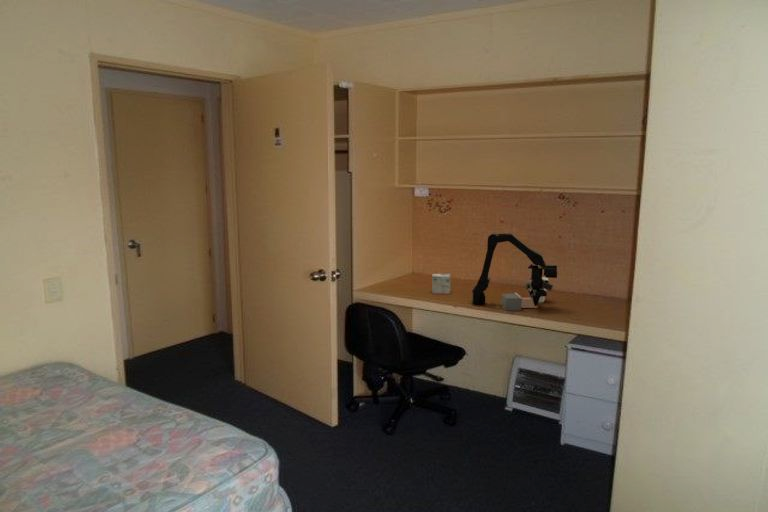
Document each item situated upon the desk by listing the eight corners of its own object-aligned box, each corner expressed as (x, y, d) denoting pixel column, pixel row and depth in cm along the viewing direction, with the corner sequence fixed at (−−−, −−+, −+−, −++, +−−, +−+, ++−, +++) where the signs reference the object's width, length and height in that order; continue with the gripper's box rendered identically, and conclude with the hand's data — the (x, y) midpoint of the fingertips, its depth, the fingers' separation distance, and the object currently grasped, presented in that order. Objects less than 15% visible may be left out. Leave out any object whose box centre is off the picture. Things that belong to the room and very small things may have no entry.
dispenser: (505, 310, 289) (506, 297, 287) (501, 305, 299) (501, 292, 297) (520, 310, 289) (521, 297, 288) (515, 305, 299) (516, 292, 298)
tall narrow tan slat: (518, 307, 293) (519, 298, 292) (517, 306, 295) (518, 297, 294) (537, 307, 293) (537, 298, 292) (536, 306, 295) (536, 297, 294)
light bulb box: (450, 291, 330) (450, 273, 328) (450, 294, 324) (450, 276, 322) (432, 290, 331) (432, 273, 329) (432, 293, 325) (432, 275, 323)
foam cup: (528, 302, 305) (529, 279, 303) (530, 298, 314) (531, 276, 312) (546, 303, 302) (547, 280, 300) (547, 299, 311) (548, 277, 308)
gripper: (557, 280, 282) (555, 310, 285) (546, 273, 300) (544, 300, 303) (536, 280, 282) (534, 310, 285) (525, 273, 300) (524, 300, 303)
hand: (535, 305), depth 294 cm, fingers closed on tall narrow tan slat, 2 cm apart
